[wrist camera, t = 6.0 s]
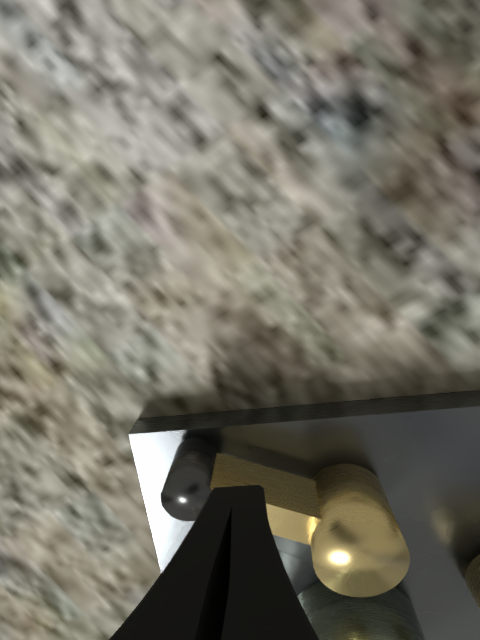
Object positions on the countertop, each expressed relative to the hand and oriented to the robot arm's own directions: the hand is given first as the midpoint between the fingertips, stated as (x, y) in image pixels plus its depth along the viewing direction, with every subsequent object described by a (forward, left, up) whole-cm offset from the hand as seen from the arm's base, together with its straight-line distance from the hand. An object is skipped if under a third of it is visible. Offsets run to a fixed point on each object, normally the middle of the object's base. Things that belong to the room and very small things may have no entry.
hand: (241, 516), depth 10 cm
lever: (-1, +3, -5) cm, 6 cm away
